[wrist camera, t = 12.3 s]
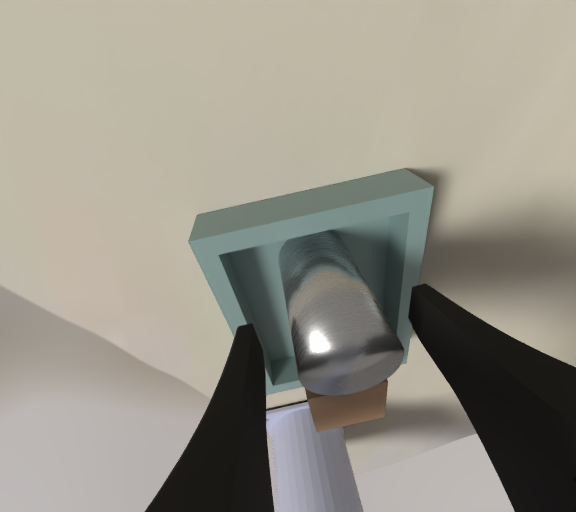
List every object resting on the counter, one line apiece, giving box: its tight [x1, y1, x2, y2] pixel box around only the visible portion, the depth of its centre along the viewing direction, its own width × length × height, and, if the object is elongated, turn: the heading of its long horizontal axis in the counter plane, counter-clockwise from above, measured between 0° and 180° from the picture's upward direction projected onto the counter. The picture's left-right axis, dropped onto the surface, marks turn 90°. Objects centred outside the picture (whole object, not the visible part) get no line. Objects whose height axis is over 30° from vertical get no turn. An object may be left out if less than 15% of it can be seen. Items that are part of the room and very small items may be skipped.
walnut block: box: [305, 379, 388, 433], centre depth 16 cm, size 4×4×6 cm
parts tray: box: [188, 168, 434, 395], centre depth 17 cm, size 14×11×3 cm
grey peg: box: [278, 230, 404, 396], centre depth 13 cm, size 4×4×7 cm
